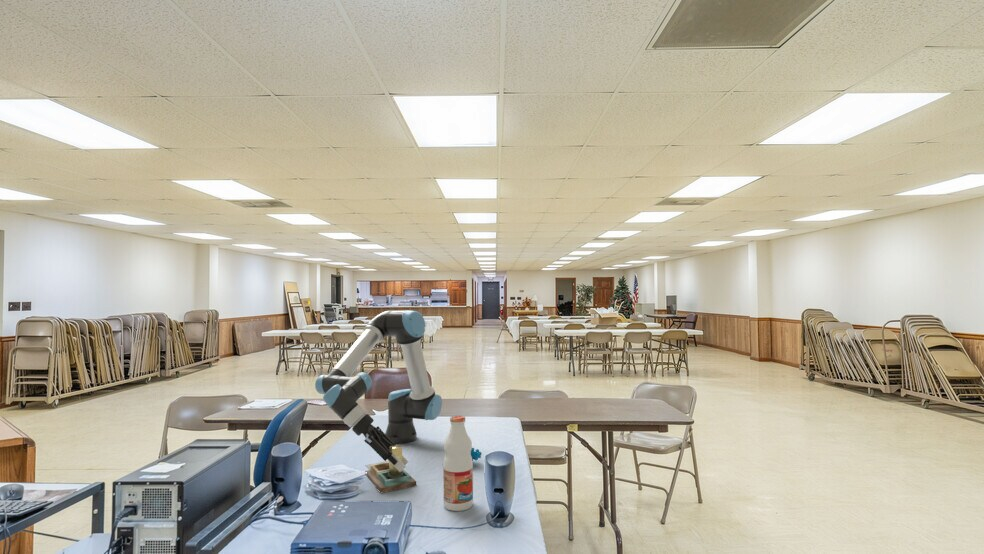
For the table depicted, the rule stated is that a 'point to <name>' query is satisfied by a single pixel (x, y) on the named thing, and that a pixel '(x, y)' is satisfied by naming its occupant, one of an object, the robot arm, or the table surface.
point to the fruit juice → (458, 467)
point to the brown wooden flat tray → (380, 478)
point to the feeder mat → (372, 464)
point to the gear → (475, 454)
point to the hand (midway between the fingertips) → (404, 466)
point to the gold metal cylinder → (392, 470)
